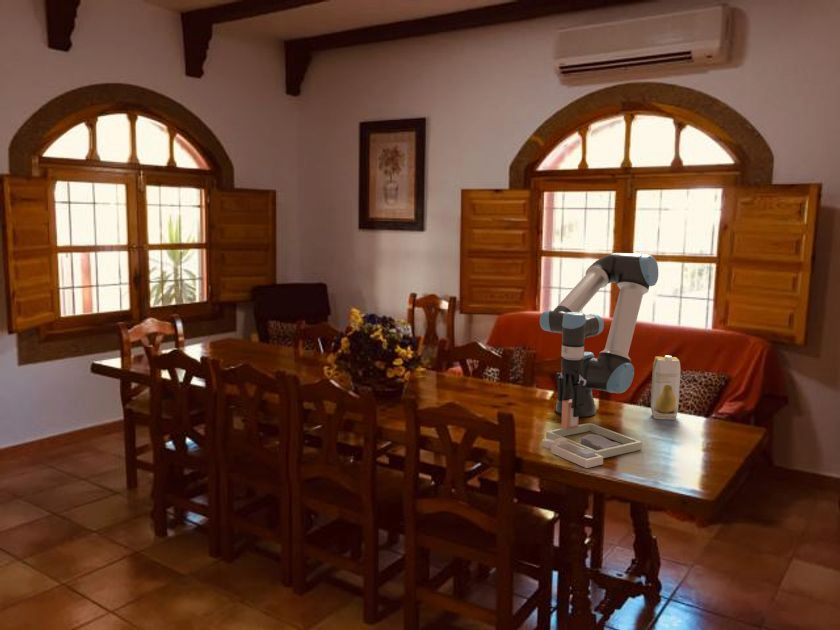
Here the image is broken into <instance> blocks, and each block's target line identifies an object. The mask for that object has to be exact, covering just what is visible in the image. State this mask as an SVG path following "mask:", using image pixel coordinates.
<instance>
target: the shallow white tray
mask: <svg viewBox="0 0 840 630" xmlns="http://www.w3.org/2000/svg"><path fill="white" fill-rule="evenodd" d="M571 406H572V399H570V400H564V401H562V414H561V428H557V429H551V430H547V431H545V439H546V438H547V439H551V440H555V439H558V438H564V439H567V442H570V443H572V444H574V445H577V446H579V447H582V448H584V449H585V448H587V449H589V450H592V451H594V452H595V453H596V454H598V455H601V456H603V459H606V458H609V457H610V458H612V457H614V456H620V455H623V454H628V453H631V452H636V451H639V450H640V451H641V450H642V449H643V441H641V440H638V439H635V438H633V437H630V436H626V435H624V434H622V433H619V432H616V431H613V430H611V429H608V428H606V427H605V428H604V426H603V427H602V426H600V425H597V424H595V423H592V422H588V423H582V424H579V420H580V419H579V416H578V421H577V425H576V426H570V411H571ZM586 432H592V433H595V434H596V435H600V436H602V437H605V438H607V439H609V440H611V441H612V440H613V441H614V442H618V443H620V444H621V445H619V446H614V447H610V448H605V449H601V450H597V451H596V450H594V449H592V448H589V447H587V446H584V445H582V444H581V443H579V442H577V441H574V440H571V439H569V438H566V436H571V435H576V434H582V433H586Z"/></svg>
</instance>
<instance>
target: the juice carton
mask: <svg viewBox="0 0 840 630" xmlns="http://www.w3.org/2000/svg"><path fill="white" fill-rule="evenodd" d="M681 372H682V370H681V361H680V359H679V358H678V357H676V356H672V355H669V354H668V355H667V354H666V355H664V356H655V357H654V361H653V365H652V374H651V375H652V379H651V393H650V394H651V395H650V410H651V415H652V416H653V419H655V420H668V421H669V420H671V421H672V420H673V421H674V420H676V419H677V417H678V414H679V413H678V411H679V405H680V404H679V402H680V387H681V386H680V384H681Z"/></svg>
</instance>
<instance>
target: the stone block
mask: <svg viewBox="0 0 840 630" xmlns="http://www.w3.org/2000/svg"><path fill="white" fill-rule="evenodd" d="M580 444H582V445H584V446H587V447H589V448H592V449H594V450H596V451H597V450H601V449H605V448H610V447H614V446H619V445H622V443H620V442H618V441H612V440H611V439H609V438H607V437H605V436H602V435H599V434H593V433H592V434H587V435H584V436H582V438H581V440H580Z"/></svg>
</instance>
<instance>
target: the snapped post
mask: <svg viewBox="0 0 840 630" xmlns="http://www.w3.org/2000/svg"><path fill="white" fill-rule="evenodd" d="M554 444H555V440H551V439H547V438H546V437H545V438H543V439H542V440H541V447H542V448H547V449H551V448H552V445H554Z"/></svg>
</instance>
